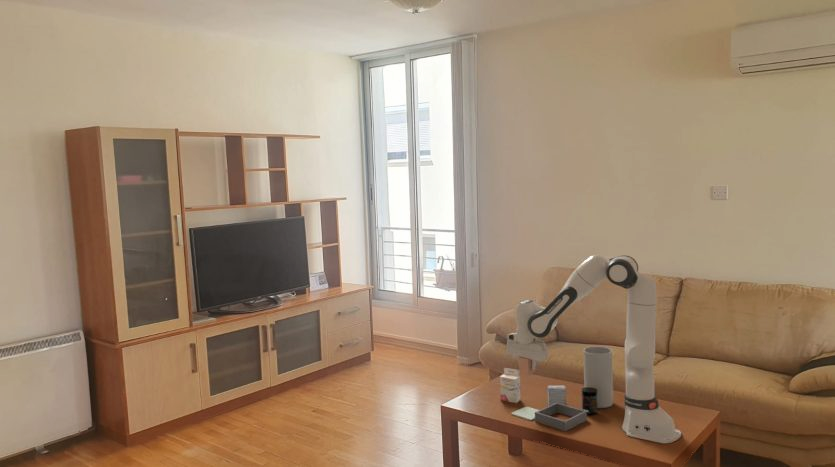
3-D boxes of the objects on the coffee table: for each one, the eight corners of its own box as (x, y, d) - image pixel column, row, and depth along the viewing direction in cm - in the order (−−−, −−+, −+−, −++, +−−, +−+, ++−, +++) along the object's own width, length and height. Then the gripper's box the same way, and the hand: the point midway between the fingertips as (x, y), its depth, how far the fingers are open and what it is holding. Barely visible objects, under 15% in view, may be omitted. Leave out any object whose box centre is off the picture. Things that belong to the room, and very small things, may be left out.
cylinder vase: (618, 404, 281) (618, 350, 279) (601, 410, 274) (599, 355, 272) (596, 396, 292) (595, 345, 289) (579, 403, 285) (577, 350, 282)
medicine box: (565, 403, 285) (564, 385, 284) (566, 407, 281) (566, 388, 280) (547, 403, 286) (547, 385, 285) (548, 407, 282) (548, 388, 281)
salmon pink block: (535, 372, 273) (535, 357, 272) (528, 375, 269) (527, 359, 269) (526, 370, 276) (525, 355, 276) (519, 372, 273) (518, 357, 272)
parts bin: (586, 420, 265) (586, 411, 264) (565, 431, 254) (565, 421, 254) (556, 411, 276) (556, 402, 276) (535, 421, 266) (534, 412, 266)
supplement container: (600, 412, 273) (600, 389, 272) (593, 416, 268) (593, 393, 267) (586, 408, 278) (585, 386, 277) (579, 413, 273) (578, 390, 272)
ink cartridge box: (500, 400, 293) (498, 370, 291) (504, 397, 297) (503, 367, 296) (516, 403, 288) (515, 372, 287) (521, 399, 292) (520, 369, 291)
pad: (546, 413, 274) (546, 412, 274) (530, 420, 267) (530, 419, 267) (526, 407, 282) (526, 406, 282) (511, 414, 275) (511, 413, 275)
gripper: (550, 339, 266) (551, 370, 267) (513, 332, 281) (514, 361, 282) (541, 342, 262) (542, 374, 263) (504, 334, 277) (505, 364, 278)
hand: (527, 367), depth 273 cm, fingers closed on salmon pink block, 5 cm apart
